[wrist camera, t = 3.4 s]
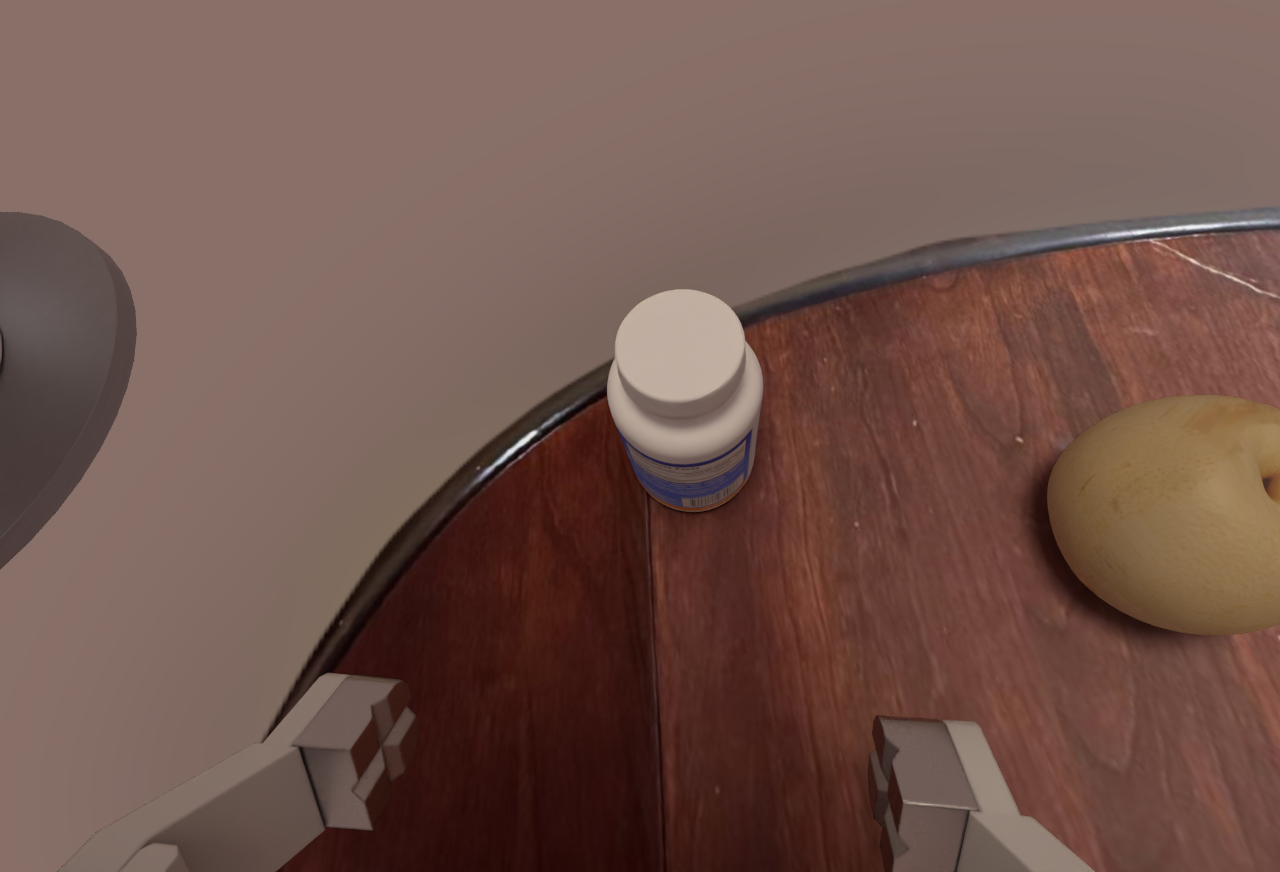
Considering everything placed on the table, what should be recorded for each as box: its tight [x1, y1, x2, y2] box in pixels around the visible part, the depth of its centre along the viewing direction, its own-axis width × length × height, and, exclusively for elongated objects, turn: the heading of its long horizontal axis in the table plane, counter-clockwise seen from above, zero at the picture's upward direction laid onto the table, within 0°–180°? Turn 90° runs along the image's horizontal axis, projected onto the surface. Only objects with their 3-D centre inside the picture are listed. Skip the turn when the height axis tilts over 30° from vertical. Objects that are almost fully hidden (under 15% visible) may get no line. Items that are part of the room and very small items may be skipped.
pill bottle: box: [607, 289, 763, 512], centre depth 23 cm, size 5×5×10 cm
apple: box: [1047, 395, 1280, 636], centre depth 21 cm, size 8×8×8 cm
